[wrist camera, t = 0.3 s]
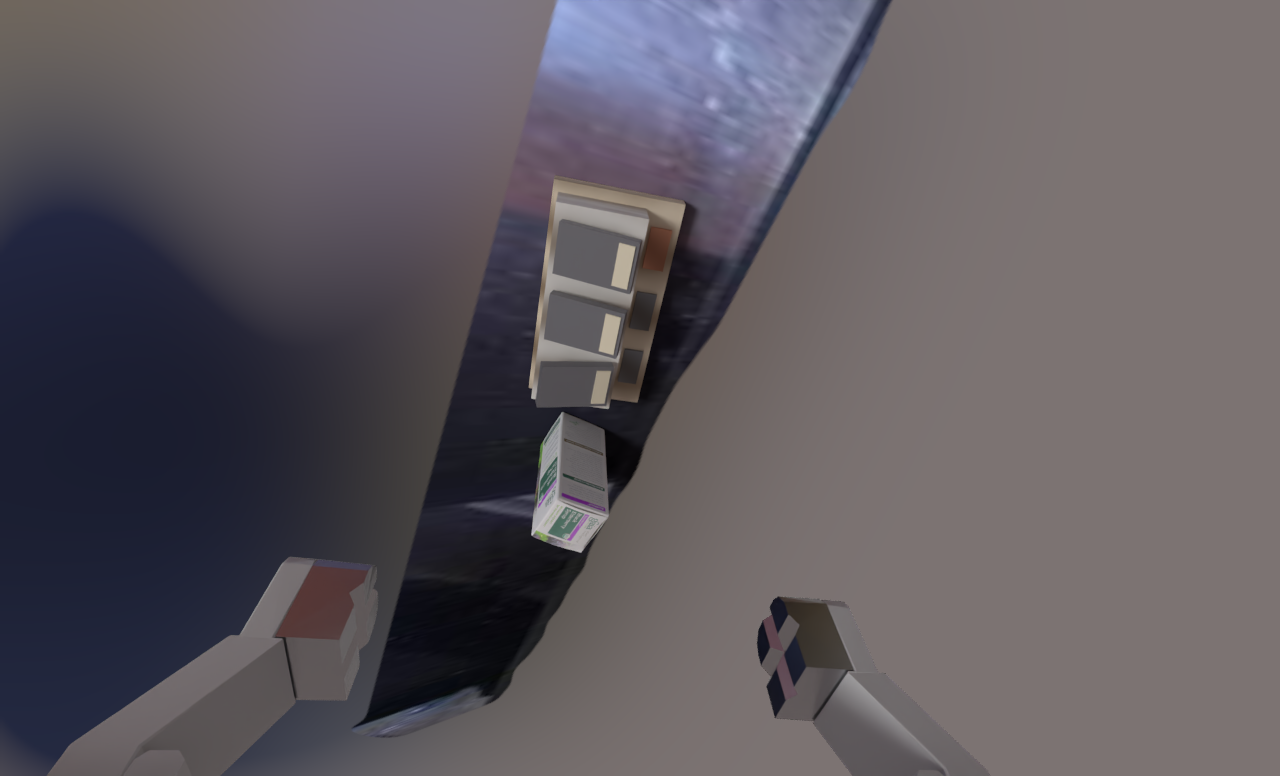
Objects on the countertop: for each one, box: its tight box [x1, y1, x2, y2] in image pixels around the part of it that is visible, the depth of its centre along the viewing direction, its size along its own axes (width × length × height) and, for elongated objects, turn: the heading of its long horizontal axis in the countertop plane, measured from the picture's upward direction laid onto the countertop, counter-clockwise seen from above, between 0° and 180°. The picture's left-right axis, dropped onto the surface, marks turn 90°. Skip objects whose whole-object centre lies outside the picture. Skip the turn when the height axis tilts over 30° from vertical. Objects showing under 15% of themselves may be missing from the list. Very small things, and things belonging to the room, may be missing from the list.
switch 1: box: [552, 219, 642, 294], centre depth 48 cm, size 5×7×1 cm, turn 78°
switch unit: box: [529, 175, 686, 409], centre depth 55 cm, size 22×12×6 cm, turn 168°
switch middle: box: [544, 290, 628, 359], centre depth 51 cm, size 5×7×1 cm, turn 78°
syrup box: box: [532, 412, 609, 553], centre depth 60 cm, size 6×6×14 cm
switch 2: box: [535, 361, 614, 407], centre depth 55 cm, size 5×7×1 cm, turn 78°
